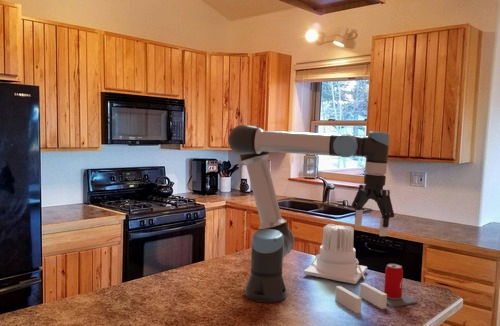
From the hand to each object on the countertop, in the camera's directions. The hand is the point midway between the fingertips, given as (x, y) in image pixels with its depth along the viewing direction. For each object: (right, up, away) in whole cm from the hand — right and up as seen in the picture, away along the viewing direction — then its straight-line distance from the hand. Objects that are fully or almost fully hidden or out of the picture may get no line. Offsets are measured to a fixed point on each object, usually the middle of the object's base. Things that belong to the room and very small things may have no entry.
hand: (369, 231), depth 152 cm
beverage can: (+9, -25, +1) cm, 27 cm away
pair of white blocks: (-5, -25, -5) cm, 26 cm away
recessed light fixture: (-7, -24, +27) cm, 37 cm away
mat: (+9, -25, +1) cm, 27 cm away
